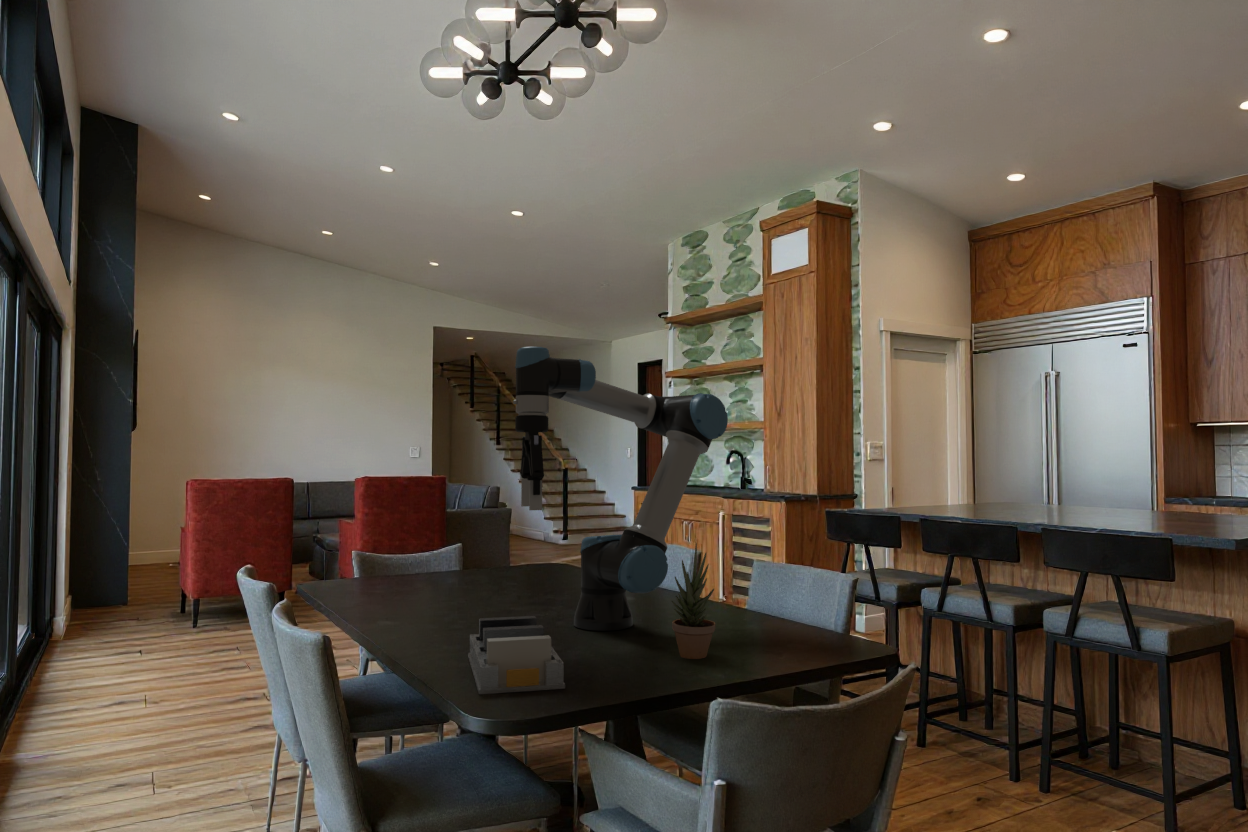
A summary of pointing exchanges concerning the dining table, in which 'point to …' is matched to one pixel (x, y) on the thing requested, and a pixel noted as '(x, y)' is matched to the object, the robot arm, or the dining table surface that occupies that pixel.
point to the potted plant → (693, 615)
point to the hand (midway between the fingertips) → (531, 508)
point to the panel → (519, 654)
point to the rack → (516, 677)
